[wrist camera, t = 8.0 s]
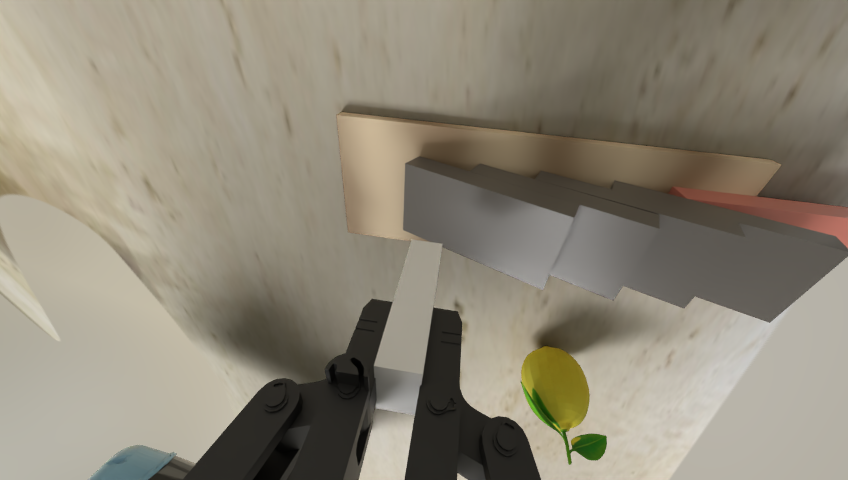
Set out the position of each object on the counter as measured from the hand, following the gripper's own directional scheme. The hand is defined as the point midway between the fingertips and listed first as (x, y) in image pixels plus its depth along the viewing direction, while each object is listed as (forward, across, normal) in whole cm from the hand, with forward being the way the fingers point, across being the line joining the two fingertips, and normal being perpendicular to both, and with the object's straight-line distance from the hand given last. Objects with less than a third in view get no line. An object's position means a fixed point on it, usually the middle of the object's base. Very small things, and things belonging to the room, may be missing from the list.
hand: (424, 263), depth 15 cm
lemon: (+9, +12, -16) cm, 22 cm away
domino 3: (+7, +6, 0) cm, 9 cm away
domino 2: (+7, +2, 0) cm, 7 cm away
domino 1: (+7, -2, 0) cm, 7 cm away
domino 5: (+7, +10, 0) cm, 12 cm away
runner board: (+8, +6, 0) cm, 10 cm away
